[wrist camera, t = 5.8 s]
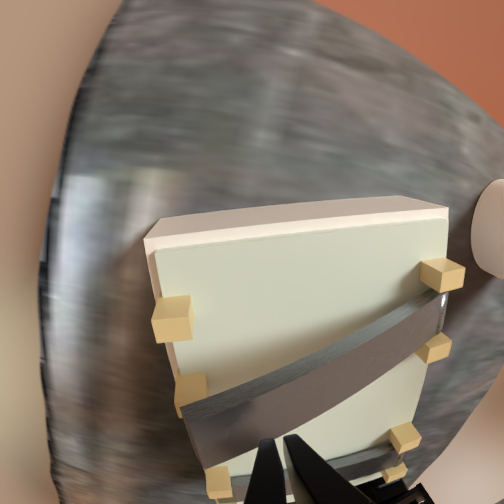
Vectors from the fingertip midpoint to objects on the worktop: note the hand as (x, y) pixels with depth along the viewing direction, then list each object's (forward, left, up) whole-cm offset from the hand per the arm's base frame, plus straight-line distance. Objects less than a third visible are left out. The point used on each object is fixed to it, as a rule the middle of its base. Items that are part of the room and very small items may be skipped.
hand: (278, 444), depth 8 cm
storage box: (-6, -3, -12) cm, 14 cm away
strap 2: (-12, -3, -6) cm, 14 cm away
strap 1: (0, -4, -4) cm, 5 cm away
